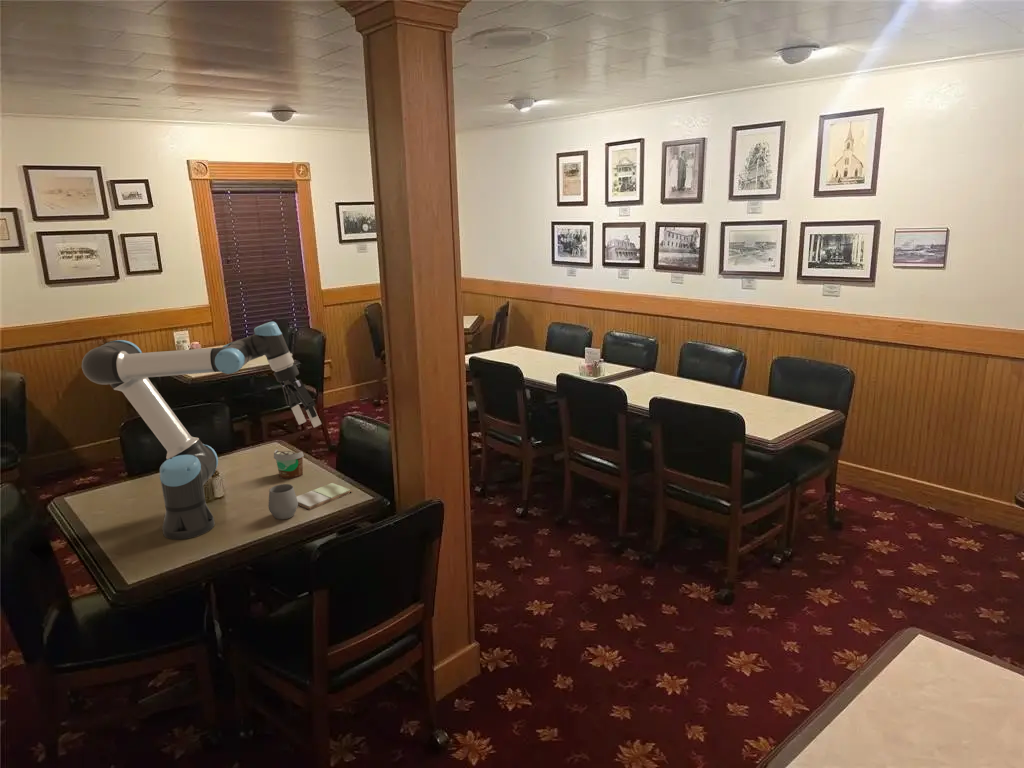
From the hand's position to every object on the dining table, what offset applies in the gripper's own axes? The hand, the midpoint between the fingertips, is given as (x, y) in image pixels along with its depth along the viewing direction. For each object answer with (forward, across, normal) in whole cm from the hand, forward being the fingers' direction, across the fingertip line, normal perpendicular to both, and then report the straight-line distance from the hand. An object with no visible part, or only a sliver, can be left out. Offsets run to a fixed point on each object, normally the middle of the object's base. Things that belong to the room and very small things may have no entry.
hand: (310, 424), depth 226 cm
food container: (+23, +36, +5) cm, 43 cm away
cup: (+25, +2, +20) cm, 32 cm away
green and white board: (+28, +9, +4) cm, 29 cm away
